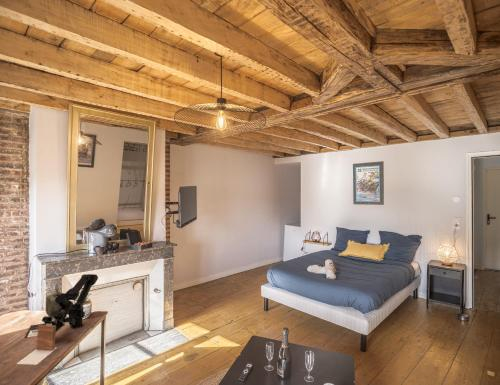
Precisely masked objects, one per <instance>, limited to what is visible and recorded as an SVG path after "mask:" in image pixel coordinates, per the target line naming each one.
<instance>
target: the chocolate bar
mask: <svg viewBox="0 0 500 385" xmlns="http://www.w3.org/2000/svg"><path fill="white" fill-rule="evenodd" d="M39 325H47V324H45V323H44V322H43V323H39V324H38V323H37V324H31V325H30V326H29V328H28V330H27V332H26V334H25V336H24V339H27V338H30V337H32V338H33V337H37V334H38V326H39Z"/></svg>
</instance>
